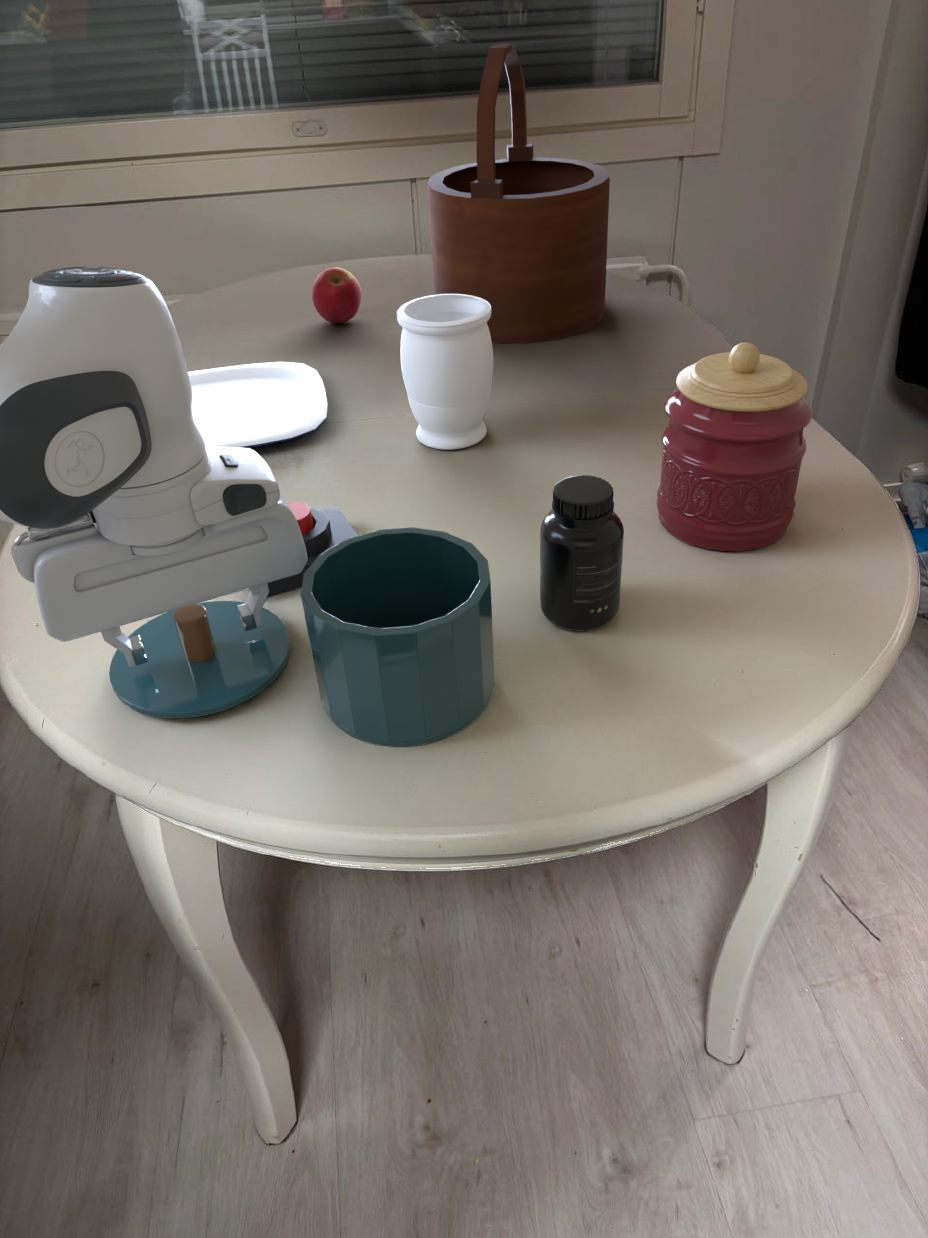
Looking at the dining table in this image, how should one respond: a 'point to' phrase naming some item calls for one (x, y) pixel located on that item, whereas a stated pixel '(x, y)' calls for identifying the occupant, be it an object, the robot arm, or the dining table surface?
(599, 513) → the supplement bottle
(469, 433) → the jar
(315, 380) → the plate
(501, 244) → the wooden bucket
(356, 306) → the apple
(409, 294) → the dining table surface
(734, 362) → the kitchen canister
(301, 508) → the release button
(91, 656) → the dining table surface
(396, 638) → the storage jar
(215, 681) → the jar lid
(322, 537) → the box
